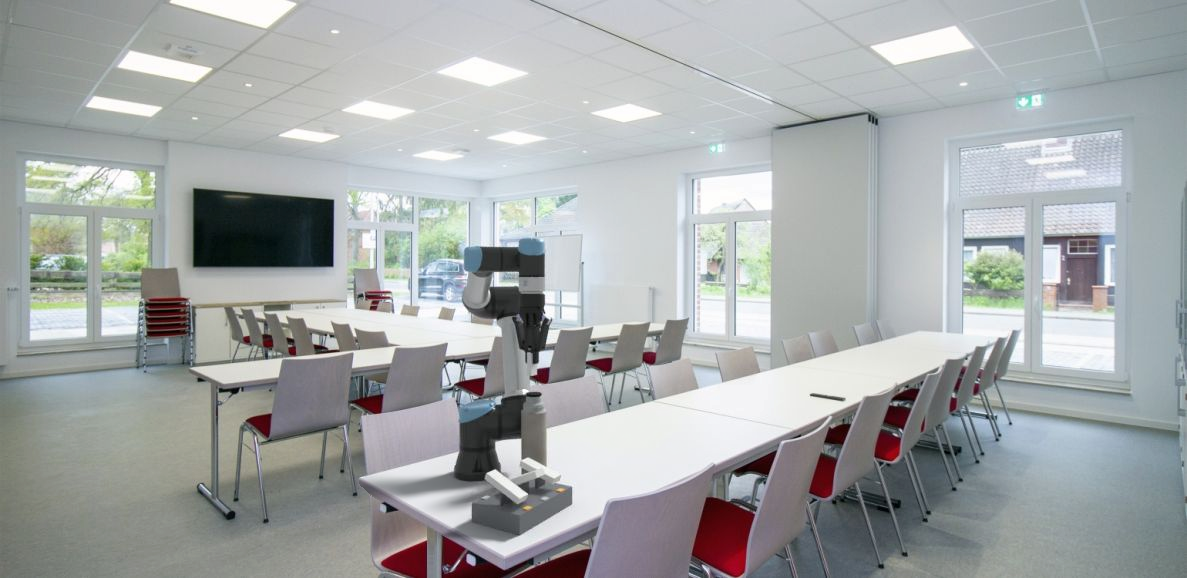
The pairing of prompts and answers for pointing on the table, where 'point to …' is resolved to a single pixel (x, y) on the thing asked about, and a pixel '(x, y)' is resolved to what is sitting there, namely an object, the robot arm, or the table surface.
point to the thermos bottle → (534, 430)
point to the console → (522, 506)
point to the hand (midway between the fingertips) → (532, 375)
